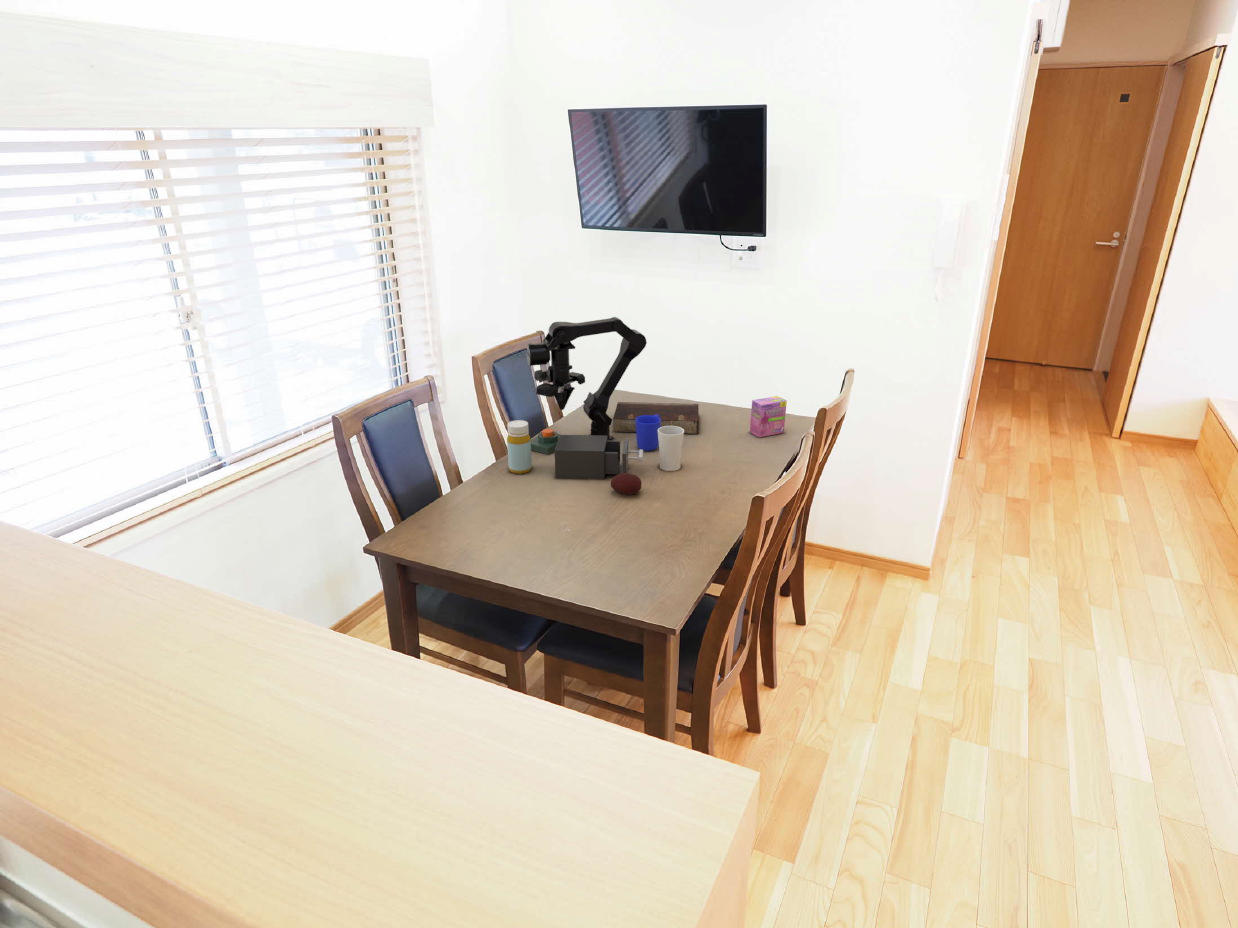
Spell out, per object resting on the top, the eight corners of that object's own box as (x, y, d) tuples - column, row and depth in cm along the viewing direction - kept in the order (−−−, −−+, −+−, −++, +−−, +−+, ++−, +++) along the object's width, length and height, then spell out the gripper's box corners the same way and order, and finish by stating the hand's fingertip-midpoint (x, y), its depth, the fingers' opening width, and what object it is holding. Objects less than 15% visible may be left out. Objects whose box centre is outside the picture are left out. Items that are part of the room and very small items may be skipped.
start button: (547, 432, 258) (547, 427, 258) (555, 435, 256) (555, 430, 256) (540, 436, 256) (540, 431, 255) (548, 438, 254) (548, 433, 253)
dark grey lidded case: (607, 462, 244) (607, 435, 241) (604, 479, 233) (604, 451, 229) (561, 461, 245) (560, 434, 242) (555, 478, 234) (554, 450, 230)
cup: (675, 474, 236) (676, 437, 231) (652, 468, 240) (652, 431, 235) (687, 465, 242) (688, 428, 238) (664, 459, 246) (665, 423, 242)
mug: (668, 441, 260) (669, 413, 256) (654, 454, 250) (655, 425, 246) (645, 438, 263) (646, 410, 260) (631, 450, 253) (631, 421, 249)
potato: (634, 501, 219) (634, 481, 217) (606, 495, 223) (606, 475, 221) (646, 490, 226) (646, 471, 223) (618, 485, 229) (618, 466, 227)
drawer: (643, 461, 243) (643, 439, 240) (642, 476, 232) (642, 454, 229) (585, 460, 244) (584, 438, 241) (581, 475, 234) (580, 452, 231)
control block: (549, 437, 264) (548, 426, 263) (570, 442, 260) (570, 431, 258) (526, 448, 255) (525, 437, 254) (547, 454, 251) (547, 443, 249)
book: (697, 415, 283) (698, 402, 281) (698, 434, 266) (698, 420, 264) (617, 413, 286) (617, 400, 284) (613, 432, 268) (613, 418, 266)
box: (758, 438, 263) (761, 404, 258) (749, 432, 268) (751, 399, 263) (784, 433, 267) (787, 400, 262) (774, 427, 272) (777, 395, 267)
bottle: (528, 475, 236) (525, 428, 230) (505, 473, 237) (502, 427, 231) (534, 466, 242) (532, 420, 236) (513, 464, 243) (510, 419, 237)
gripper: (558, 352, 259) (559, 397, 265) (521, 365, 245) (524, 413, 251) (585, 357, 254) (586, 403, 260) (549, 371, 239) (551, 419, 245)
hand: (561, 409), depth 254 cm, fingers closed
